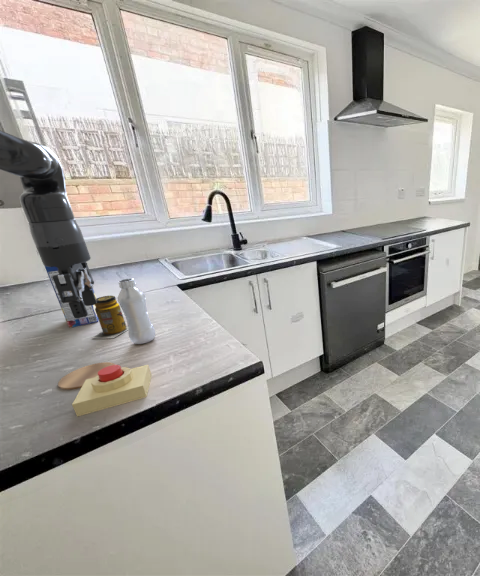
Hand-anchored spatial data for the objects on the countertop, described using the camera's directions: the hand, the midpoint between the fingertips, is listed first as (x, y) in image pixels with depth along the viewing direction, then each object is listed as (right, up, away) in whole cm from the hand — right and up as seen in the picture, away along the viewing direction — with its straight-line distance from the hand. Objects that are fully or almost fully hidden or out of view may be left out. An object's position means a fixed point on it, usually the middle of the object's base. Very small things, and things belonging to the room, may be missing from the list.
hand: (86, 310), depth 72 cm
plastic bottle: (-5, -12, +24) cm, 27 cm away
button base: (+7, -20, 0) cm, 21 cm away
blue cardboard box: (-39, -6, +41) cm, 57 cm away
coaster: (-6, -17, +7) cm, 20 cm away
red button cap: (+7, -15, -1) cm, 17 cm away
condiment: (-20, -10, +30) cm, 38 cm away
